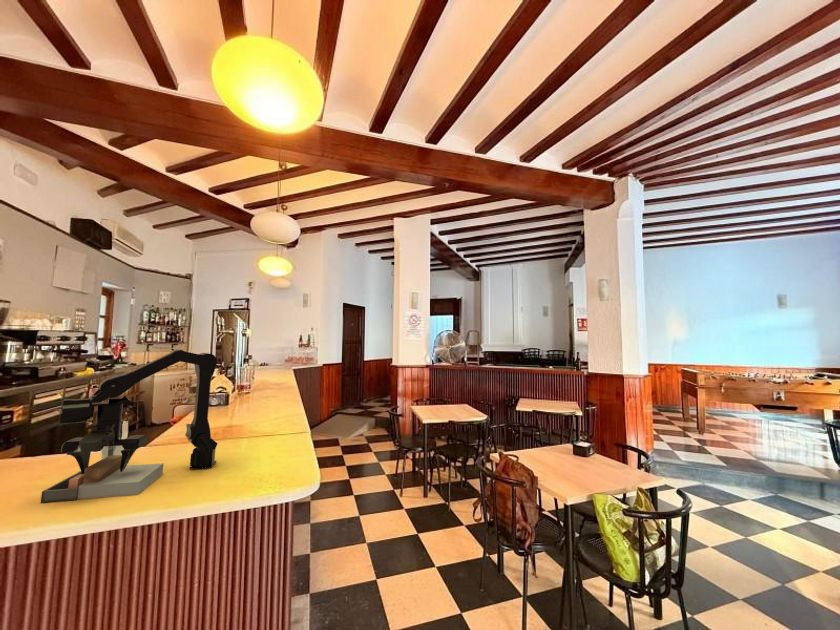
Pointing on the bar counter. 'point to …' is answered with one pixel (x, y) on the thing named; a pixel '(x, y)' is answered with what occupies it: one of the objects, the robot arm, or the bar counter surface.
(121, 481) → the board
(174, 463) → the bar counter surface
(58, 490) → the tray
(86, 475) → the brown wooden plank
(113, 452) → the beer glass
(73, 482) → the tile
